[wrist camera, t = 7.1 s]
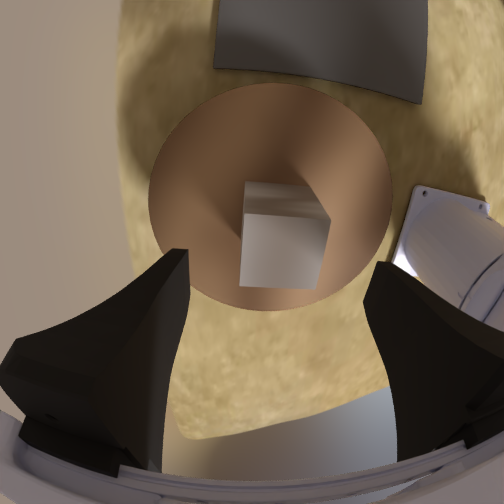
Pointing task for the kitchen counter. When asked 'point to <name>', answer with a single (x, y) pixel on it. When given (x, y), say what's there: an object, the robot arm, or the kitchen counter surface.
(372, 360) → the kitchen counter surface
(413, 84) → the mat
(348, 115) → the lid
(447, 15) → the kitchen counter surface
